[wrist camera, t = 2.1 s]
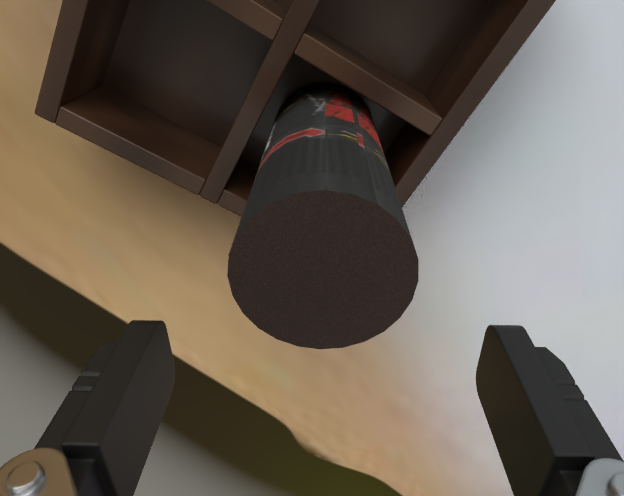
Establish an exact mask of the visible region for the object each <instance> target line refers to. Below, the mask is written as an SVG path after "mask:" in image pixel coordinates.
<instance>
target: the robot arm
mask: <svg viewBox="0 0 624 496" xmlns="http://www.w3.org/2000/svg"><path fill="white" fill-rule="evenodd" d="M174 379H175V366H174V361H173V356H172V351H171V347H170V342H169V338H168V333H167V329H166V325H165V323H164V322H163V321H143V320H133V321H131V322H130V323H129V324H128V326H127V327H126V330H125V331H124V333H123V335H122V336H121V338H120V340H119V341H108V342H107V343H106V344H105V345H104V346H102V347H101V348H100V349H99V350H98V351H96V352H95V353H94V354H93V355H92V356H91V357H90V359H89V360H88V362H87V364H86V365H85V367H84V369H83V370H82V372H81V376H79V377H78V379H77V380H76V382H75V383H74V385H73V386H72V391H69V393H68V395H67V396H66V398H65V399H64V401H63V403H62V404H61V406H60V408H59V409H58V411H57V412H56V414H55V416H54V417H53V419H52V421H51V422H50V424H49V425H48V427H47V429H46V430H45V432H44V434H43V435H42V437H41V439H40V440H39V442H38V443H37V445H36V446H35V448H34V449H32V450H29V451H26V452H24V453H21V454H19V455H18V456H16V457H14V458H12V459H11V460H9V461H8V462H7V463H5V464H4V465H3V466H2V467H1V468H0V496H133V495H134V492H135V489H136V486H137V484H138V481H139V479H140V476H141V473H142V470H143V468H144V465H145V462H146V460H147V457H148V454H149V452H150V449H151V446H152V443H153V441H154V438H155V435H156V433H157V430H158V427H159V425H160V422H161V419H162V416H163V414H164V411H165V408H166V406H167V403H168V400H169V398H170V395H171V392H172V389H173V385H174ZM476 386H477V392H478V396H479V399H480V401H481V404H482V407H483V410H484V413H485V415H486V418H487V421H488V424H489V427H490V429H491V432H492V435H493V438H494V441H495V443H496V446H497V449H498V452H499V455H500V457H501V460H502V463H503V466H504V469H505V471H506V474H507V477H508V480H509V483H510V485H511V488H512V491H513V494H514V496H624V461H623V459H622V458H621V456H620V455H619V453H618V451H617V450H616V448H615V446H614V445H613V443H612V442H611V440H610V438H609V437H608V435H607V433H606V432H605V430H604V428H603V427H602V425H601V423H600V422H599V420H598V418H597V417H596V415H595V413H594V412H593V410H592V409H591V407H590V405H589V404H588V402H587V400H584V395H583V394H582V392H581V390H580V389H579V387H578V385H575V381H574V379H573V377H572V376H571V374H570V372H569V371H568V369H567V367H566V366H565V364H564V363H563V362H562V361H561V360H560V359H559V358H557V357H556V356H555V355H554V354H553V353H552V352H551V351H549V350H548V349H547V348H546V347H535V346H534V344H533V343H532V341H531V339H530V337H529V335H528V334H527V332H526V330H525V329H524V328H523V327H522V326H516V325H489V326H488V327H487V329H486V332H485V337H484V341H483V345H482V349H481V353H480V358H479V362H478V366H477V371H476Z"/></svg>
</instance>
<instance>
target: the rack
mask: <svg viewBox="0 0 624 496" xmlns="http://www.w3.org/2000/svg"><path fill="white" fill-rule="evenodd" d="M555 1H556V0H63V2H62V6H61V10H60V14H59V18H58V22H57V26H56V30H55V34H54V38H53V42H52V46H51V50H50V54H49V58H48V62H47V66H46V70H45V74H44V78H43V82H42V86H41V89H40V93H39V97H38V101H37V105H36V109H35V114H36V115H38V116H40V117H42V118H44V119H46V120H48V121H50V122H52V123H56V125H58V126H60V127H62V128H64V129H66V130H68V131H70V132H72V133H74V134H76V135H78V136H80V137H82V138H84V139H86V140H88V141H90V142H92V143H94V144H96V145H98V146H100V147H102V148H104V149H106V150H108V151H110V152H112V153H114V154H116V155H118V156H120V157H122V158H124V159H127V160H129V161H131V162H133V163H135V164H137V165H139V166H141V167H143V168H145V169H147V170H149V171H151V172H153V173H155V174H157V175H159V176H161V177H163V178H165V179H167V180H169V181H171V182H173V183H175V184H177V185H179V186H181V187H183V188H185V189H187V190H189V191H191V192H193V193H195V194H197V195H199V194H200V196H201V197H203V198H205V199H207V200H209V201H211V202H213V203H215V204H216V203H217V204H218V205H219V206H221V207H223V208H225V209H227V210H230V211H232V212H234V213H236V214H238V215H240V216H242V215H243V212H244V209H245V206H246V203H247V200H248V197H249V194H250V191H251V188H252V186H253V183H254V180H255V177H256V174H257V171H258V168H259V165H260V162H261V159H262V156H263V153H264V150H265V148H266V145H267V142H268V139H269V136H270V133H271V130H272V127H273V124H274V121H275V118H276V116H277V113H278V111H279V108H280V107H281V105H282V104H283V103H284V101H285V100H286V99H287V97H288V96H290V95H291V94H292V93H294V92H295V91H296V90H297V89H299V88H301V87H304V86H306V85H308V84H311V83H318V82H331V83H337V84H341V85H343V86H345V87H347V88H349V89H351V90H353V91H354V92H355V93H356V94H357V95H359V96H360V97H361V98H362V99H363V101H364V102H365V104H366V105H367V107H368V108H369V110H370V113H371V116H372V119H373V122H374V125H375V128H376V131H377V134H378V137H379V140H380V143H381V146H382V149H383V152H384V155H385V158H386V162H387V165H388V168H389V171H390V174H391V177H392V180H393V183H394V186H395V189H396V192H397V195H398V199H399V202H400V205H401V208H402V207H403V205H404V204H405V203H406V201H407V200H408V199H409V197H410V196H411V195H412V193H413V192H414V191H415V189H416V188H417V186H418V185H419V184H420V182H421V181H422V180H423V178H424V177H425V176H426V174H427V173H428V172H429V170H430V169H431V168H432V166H433V165H434V164H435V162H436V161H437V160H438V158H439V157H440V156H441V154H442V153H443V151H444V150H445V149H446V147H447V146H448V145H449V143H450V142H451V141H452V139H453V138H454V137H455V135H456V134H457V133H458V131H459V130H460V129H461V127H462V126H463V125H464V123H465V122H466V120H467V119H468V118H469V116H470V115H471V114H472V112H473V111H474V110H475V108H476V107H477V106H478V104H479V103H480V102H481V100H482V99H483V98H484V96H485V95H486V94H487V92H488V91H489V90H490V88H491V87H492V85H493V84H494V83H495V81H496V80H497V79H498V77H499V76H500V75H501V73H502V72H503V71H504V69H505V68H506V67H507V65H508V64H509V63H510V61H511V60H512V59H513V57H514V56H515V54H516V53H517V52H518V50H519V49H520V48H521V46H522V45H523V44H524V42H525V41H526V40H527V38H528V37H529V36H530V34H531V33H532V32H533V30H534V29H535V28H536V26H537V25H538V24H539V22H540V21H541V19H542V18H543V17H544V15H545V14H546V13H547V11H548V10H549V9H550V7H551V6H552V5H553V3H554V2H555Z"/></svg>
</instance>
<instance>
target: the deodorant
mask: <svg viewBox="0 0 624 496" xmlns="http://www.w3.org/2000/svg"><path fill="white" fill-rule="evenodd" d="M228 279H229V283H230V287H231V291H232V295H233V297H234V299H235V300H236V302H237V304H238V305H239V307H240V309H241V310H242V312H243V314H244V315H245V316H247V317H248V318H249V319H250V320H251V321H252V322H253V323H254V324H255V325H256V326H257V327H258V328H259V329H261V330H263V331H264V332H266V333H268V334H269V335H271V336H273V337H274V338H276V339H278V340H281V341H284V342H287V343H290V344H293V345H296V346H300V347H308V348H316V349H329V348H343V347H347V346H350V345H354V344H357V343H361V342H364V341H366V340H368V339H370V338H372V337H374V336H376V335H378V334H380V333H382V332H384V331H385V330H386V329H387V328H389V327H390V326H391V325H392V324H393V323H394V322H395V321H397V320H398V319H399V318H400V317H401V315H402V314H403V313H404V311H405V310H406V308H407V307H408V305H409V304H410V302H411V301H412V299H413V295H414V292H415V289H416V286H417V283H418V257H417V254H416V251H415V248H414V245H413V242H412V239H411V235H410V232H409V229H408V226H407V223H406V220H405V217H404V214H403V211H402V208H401V205H400V202H399V199H398V195H397V192H396V189H395V186H394V183H393V180H392V177H391V174H390V171H389V168H388V165H387V162H386V158H385V155H384V152H383V149H382V146H381V143H380V140H379V137H378V134H377V131H376V128H375V125H374V122H373V119H372V116H371V113H370V110H369V108H368V107H367V105H366V104H365V102H364V101H363V99H362V98H361V97H360V96H359V95H357V94H356V93H355V92H354V91H353V90H351V89H349V88H347V87H345V86H343V85H341V84H337V83H331V82H318V83H311V84H308V85H306V86H304V87H301V88H299V89H297V90H296V91H295V92H294V93H292V94H291V95H290V96H288V97H287V99H286V100H285V101H284V103H283V104H282V105H281V107H280V108H279V111H278V113H277V116H276V118H275V121H274V124H273V127H272V130H271V133H270V136H269V139H268V142H267V145H266V148H265V150H264V153H263V156H262V159H261V162H260V165H259V168H258V171H257V174H256V177H255V180H254V183H253V186H252V188H251V191H250V194H249V197H248V200H247V203H246V206H245V209H244V212H243V215H242V218H241V221H240V224H239V227H238V229H237V232H236V235H235V238H234V241H233V244H232V247H231V250H230V253H229V260H228Z"/></svg>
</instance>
